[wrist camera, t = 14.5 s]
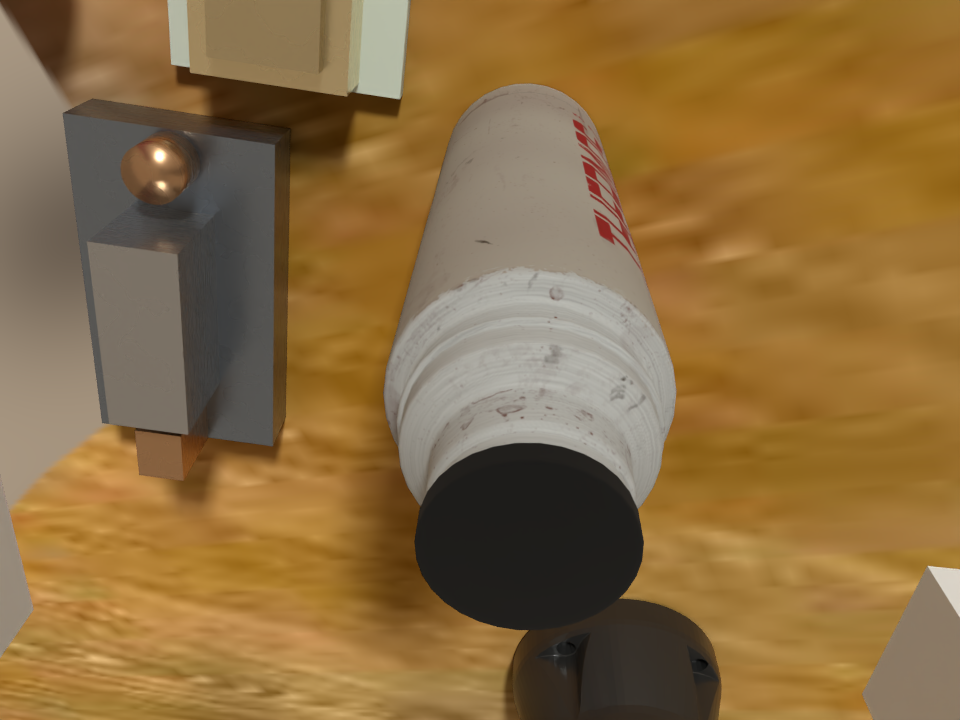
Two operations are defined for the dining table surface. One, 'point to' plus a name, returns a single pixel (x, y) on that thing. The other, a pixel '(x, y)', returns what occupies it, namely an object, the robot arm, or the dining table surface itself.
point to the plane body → (183, 274)
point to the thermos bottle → (528, 371)
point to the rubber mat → (378, 44)
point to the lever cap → (278, 42)
